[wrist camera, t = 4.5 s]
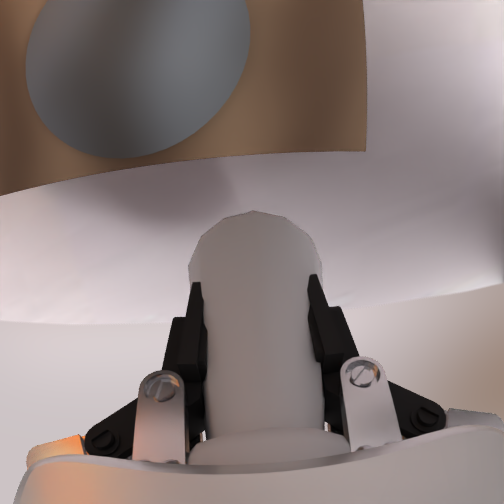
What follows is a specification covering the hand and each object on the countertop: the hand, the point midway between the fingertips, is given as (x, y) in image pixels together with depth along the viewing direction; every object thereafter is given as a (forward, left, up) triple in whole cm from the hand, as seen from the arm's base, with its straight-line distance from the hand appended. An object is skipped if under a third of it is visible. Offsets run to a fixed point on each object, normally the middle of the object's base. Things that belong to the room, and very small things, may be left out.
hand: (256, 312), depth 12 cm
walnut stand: (+4, -10, -8) cm, 14 cm away
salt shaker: (0, 0, -5) cm, 5 cm away
